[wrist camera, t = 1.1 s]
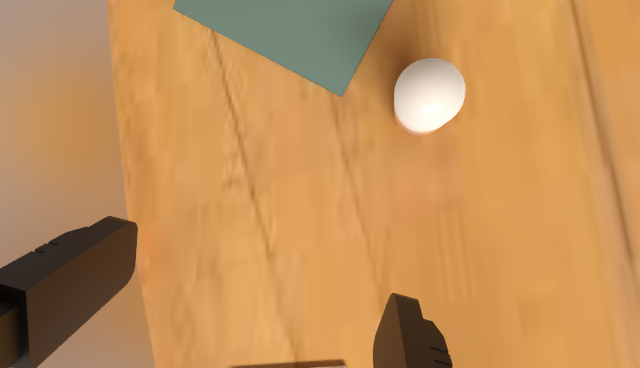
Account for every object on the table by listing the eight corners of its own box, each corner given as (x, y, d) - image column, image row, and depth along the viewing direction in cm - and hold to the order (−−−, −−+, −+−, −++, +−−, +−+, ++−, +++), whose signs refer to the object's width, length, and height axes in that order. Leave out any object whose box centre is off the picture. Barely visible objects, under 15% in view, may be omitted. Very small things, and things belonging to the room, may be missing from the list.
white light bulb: (409, 78, 32) (416, 46, 23) (454, 100, 31) (479, 76, 22) (384, 122, 32) (382, 107, 23) (428, 145, 32) (442, 139, 23)
